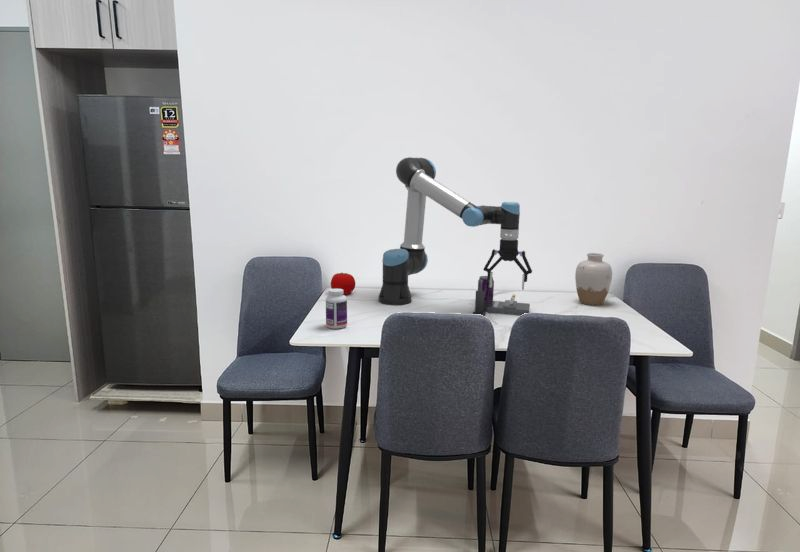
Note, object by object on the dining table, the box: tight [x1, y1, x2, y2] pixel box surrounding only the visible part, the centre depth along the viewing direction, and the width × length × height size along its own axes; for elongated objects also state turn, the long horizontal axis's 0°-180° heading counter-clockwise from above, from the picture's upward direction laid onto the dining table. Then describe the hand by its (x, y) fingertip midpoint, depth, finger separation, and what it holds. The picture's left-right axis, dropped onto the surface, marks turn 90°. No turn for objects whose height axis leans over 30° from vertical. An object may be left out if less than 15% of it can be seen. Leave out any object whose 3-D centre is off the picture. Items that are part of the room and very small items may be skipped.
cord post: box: [472, 289, 486, 317], centre depth 223 cm, size 5×5×10 cm
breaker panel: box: [484, 299, 531, 316], centre depth 231 cm, size 22×12×4 cm, turn 74°
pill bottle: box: [325, 288, 348, 330], centre depth 203 cm, size 8×8×14 cm
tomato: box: [330, 272, 356, 296], centre depth 257 cm, size 12×12×10 cm
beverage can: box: [477, 275, 495, 301], centre depth 243 cm, size 7×7×12 cm
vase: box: [574, 252, 613, 306], centre depth 245 cm, size 16×16×23 cm
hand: (506, 288), depth 229 cm, fingers open, 13 cm apart
